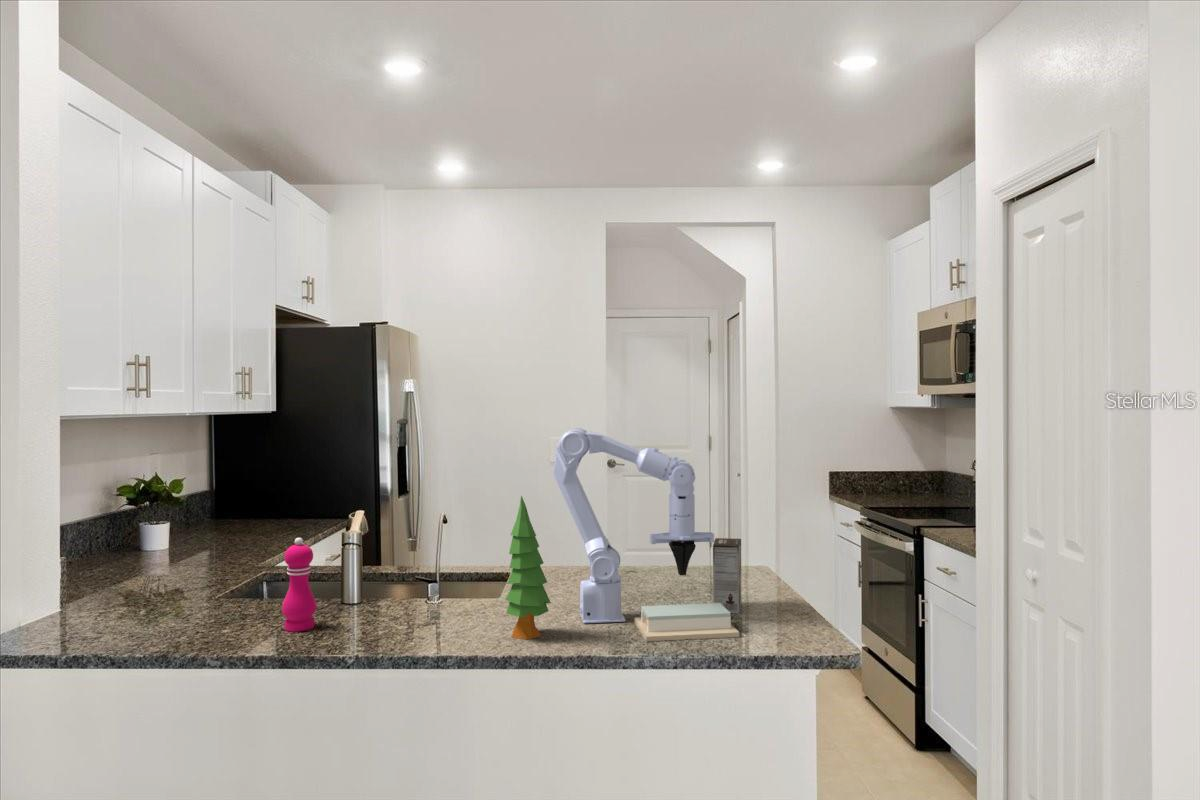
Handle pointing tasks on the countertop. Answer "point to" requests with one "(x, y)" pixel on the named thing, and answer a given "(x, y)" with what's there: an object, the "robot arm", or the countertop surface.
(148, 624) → the countertop surface
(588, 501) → the robot arm
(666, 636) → the duct base
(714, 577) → the coffee box
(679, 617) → the panel
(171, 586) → the countertop surface
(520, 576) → the decorative tree
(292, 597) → the pepper mill
